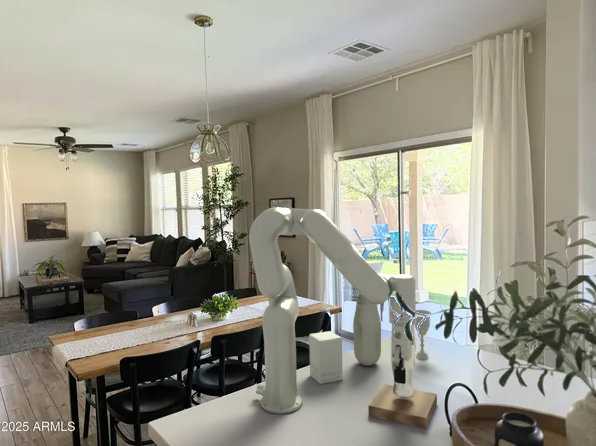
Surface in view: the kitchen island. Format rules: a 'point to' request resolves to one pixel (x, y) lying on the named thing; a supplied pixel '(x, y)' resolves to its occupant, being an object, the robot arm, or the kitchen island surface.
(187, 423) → the kitchen island surface
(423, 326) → the chalice
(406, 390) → the beer glass
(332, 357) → the supplement box
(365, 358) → the grey bottle
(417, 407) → the walnut board
